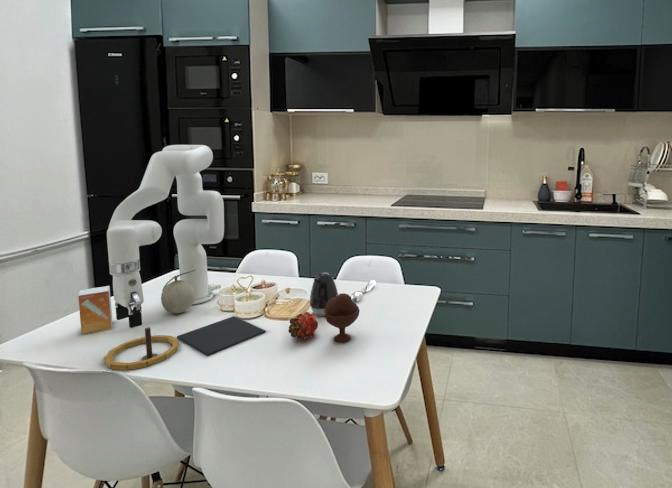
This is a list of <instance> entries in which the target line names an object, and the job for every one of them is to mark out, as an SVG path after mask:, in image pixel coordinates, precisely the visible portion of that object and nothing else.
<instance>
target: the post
mask: <svg viewBox="0 0 672 488" xmlns="http://www.w3.org/2000/svg"><path fill="white" fill-rule="evenodd" d="M151 329H152V328H151V327H150V326H148V327H147V326H146V327H145V328H144V337H145V340H146V343H145V350H146V351H145V352H146V354H145V355H143V356H142V358H141V361H143V360H147V359H150V358H153V357H155V356H158V355H159V354H158V353H153V342H152V341H151V336H152V330H151Z"/></svg>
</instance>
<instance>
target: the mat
mask: <svg viewBox="0 0 672 488" xmlns="http://www.w3.org/2000/svg"><path fill="white" fill-rule="evenodd" d="M265 333H267V331H266V330H265V329H263V328H262V327H261V328H260V327H258V326H257V325H254V324H253V323H249V322H248V321H246V320H243V319H241V318H239V317H237V316H235V315H233V316H230V317H227V318H225V319H222V320H219V321H216V322H213V323H210V324H208V325H204V326H202V327H199V328H197V329H194V330H191V331H187V332H184V333H182V334H179V335H177V336H176V339H178V340H179V341H181V342H183V343H184V344H187V345H189V346H190V347H191V348H193V349H195V350H197V351H198V352H200V353H202V354H203V355H205V356H211V355H214V354H215V353H218V352H221V351H224V350H226V349H228V348H231V347H233V346H236V345H238V344H240V343H243V342H246V341H248V340H251V339H252V338H255V337H258V336H260V335H263V334H265Z"/></svg>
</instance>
